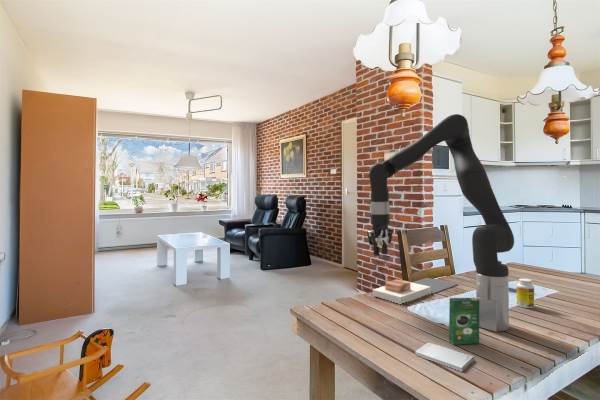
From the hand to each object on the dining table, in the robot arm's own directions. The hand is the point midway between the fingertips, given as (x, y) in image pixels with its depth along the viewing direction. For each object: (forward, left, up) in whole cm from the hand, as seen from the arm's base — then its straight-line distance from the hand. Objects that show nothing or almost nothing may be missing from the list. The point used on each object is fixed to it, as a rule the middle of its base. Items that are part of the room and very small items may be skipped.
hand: (380, 254), depth 135 cm
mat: (+36, 0, -19) cm, 41 cm away
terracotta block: (+11, 0, -16) cm, 20 cm away
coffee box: (-11, -39, -20) cm, 45 cm away
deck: (+14, 0, -19) cm, 24 cm away
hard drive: (-24, -40, -20) cm, 50 cm away
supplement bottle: (+37, -39, -20) cm, 57 cm away
